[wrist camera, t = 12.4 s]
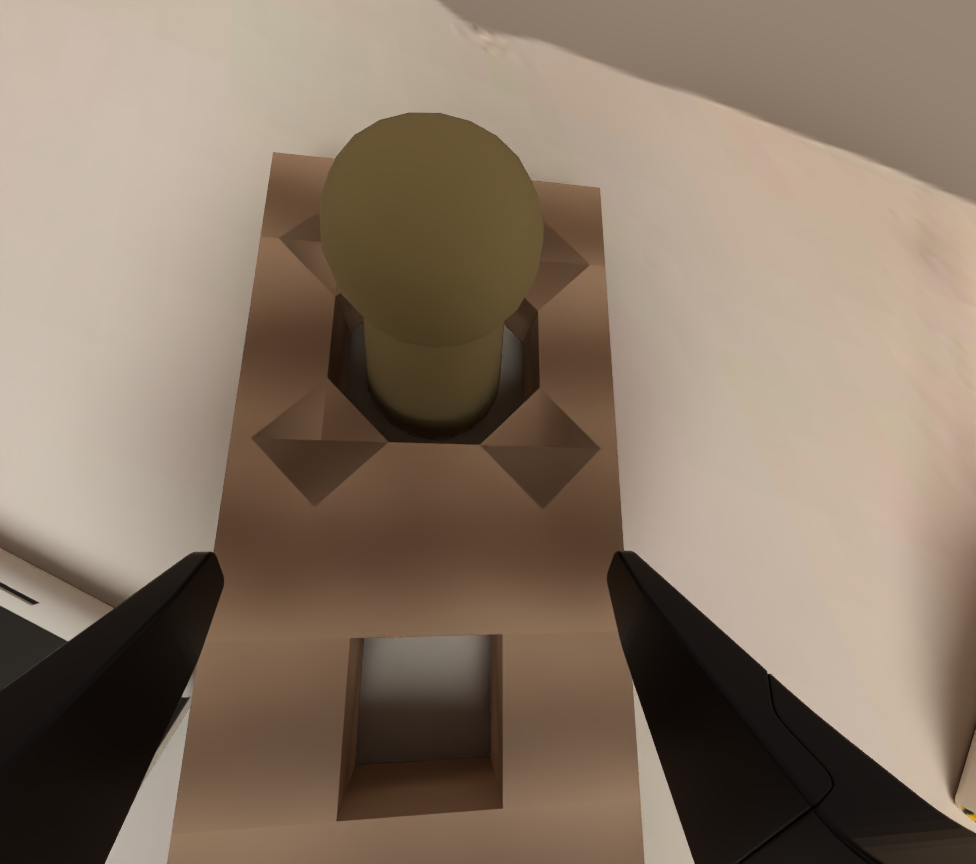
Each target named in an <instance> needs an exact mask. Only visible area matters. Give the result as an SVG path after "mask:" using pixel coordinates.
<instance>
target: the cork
mask: <svg viewBox="0 0 976 864" xmlns="http://www.w3.org/2000/svg"><path fill="white" fill-rule="evenodd" d="M319 212H320V232H321V249H322V251H323V254H324V256H325V258H326V261H327V263H328V265H329V267H330V270H331V272H332V274H333V276H334V279H335V281H336V283H337V285H338V287H339V290H340V292H341V294H342V295H343V296H344V297H345V298H346V299H347V300H348V301H349V302H350V304H351V305H352V306H353V307H354V308H355V309H356V310H357V311H358V312H359V313H360V314H361V315H362V316H363V322H364V336H365V350H366V364H367V377H368V390H369V392H370V394H371V397H372V399H373V401H374V404H375V406H376V408H377V409H378V411H379V412H380V413H381V414H382V415H383V416H384V417H385V418H386V419H387V420H388V421H389V422H390V424H392V425H393V426H395V427H397V428H399V429H401V430H402V431H404V432H406V433H408V434H410V435H414V436H419V437H424V438H429V439H436V438H446V437H453V436H455V435H458V434H460V433H462V432H465V431H467V430H469V429H471V428H473V427H474V426H475V425H476V424H477V423H478V422H479V421H480V420H482V419H483V418H484V417H485V416H486V415H487V414H488V412H489V410H490V408H491V407H492V405H493V403H494V401H495V399H496V398H497V392H498V387H499V381H500V372H501V358H502V345H503V331H504V321H505V320H506V319H507V318H508V317H510V316H511V315H512V314H513V313H514V312H515V311H516V310H517V309H518V308H519V306H520V304H521V302H522V301H523V299H524V297H525V296H526V294H527V292H528V291H529V289H530V287H531V285H532V284H533V281H534V279H535V277H536V274H537V272H538V269H539V263H540V257H541V252H542V246H543V233H544V224H543V218H542V213H541V207H540V202H539V197H538V194H537V192H536V190H535V187H534V185H533V183H532V181H531V179H530V177H529V175H528V174H527V172H526V170H525V168H524V166H523V165H522V163H521V161H520V159H519V157H518V156H517V155H516V154H515V153H514V152H513V151H512V150H511V149H510V148H509V147H508V146H507V145H506V144H505V143H503V142H502V141H501V140H500V139H499V138H498V137H497V136H496V135H494V134H492V133H490V132H489V131H487V130H485V129H483V128H481V127H480V126H478V125H476V124H474V123H473V122H471V121H468V120H464V119H460V118H456V117H453V116H449V115H445V114H441V113H406V114H402V115H398V116H394V117H390V118H386V119H382V120H379V121H377V122H376V123H374V124H372V125H371V126H369V127H367V128H366V129H364V130H362V131H361V132H359V133H357V134H356V135H354V136H353V137H352V139H351V140H350V141H349V142H348V143H347V145H346V146H345V147H344V148H343V149H342V151H341V152H340V153H339V154H338V155H337V157H336V158H335V160H334V162H333V164H332V166H331V168H330V170H329V172H328V175H327V178H326V181H325V184H324V187H323V190H322V193H321V196H320V199H319Z"/></svg>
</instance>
